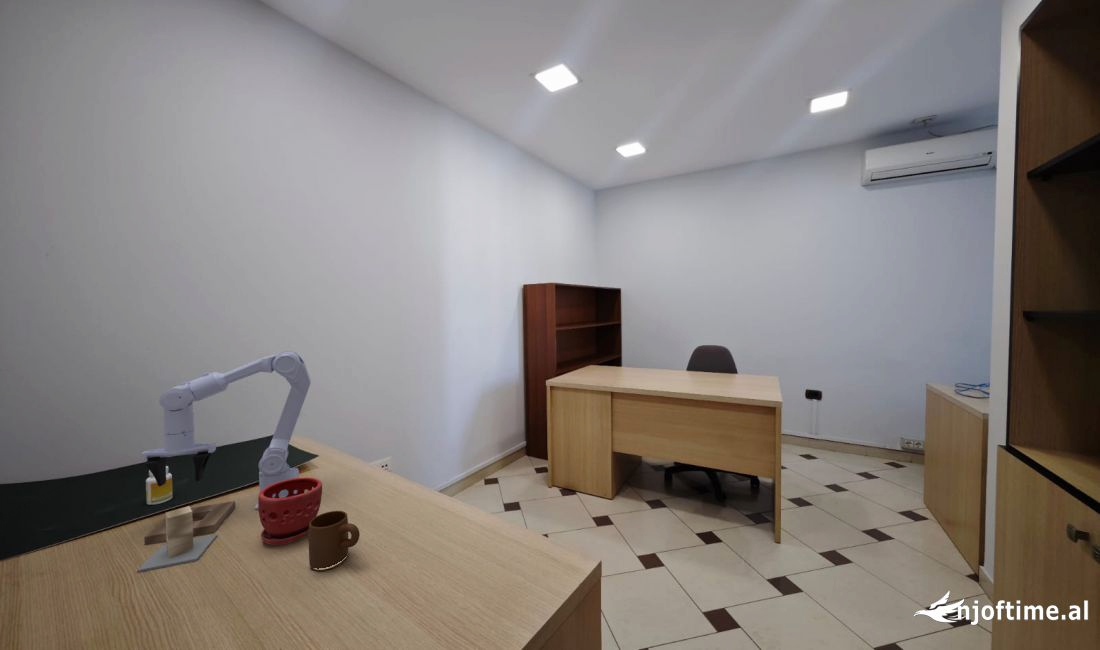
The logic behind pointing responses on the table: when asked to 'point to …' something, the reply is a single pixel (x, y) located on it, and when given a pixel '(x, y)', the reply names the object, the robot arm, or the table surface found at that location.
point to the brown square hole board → (208, 521)
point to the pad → (162, 559)
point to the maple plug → (179, 531)
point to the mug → (330, 538)
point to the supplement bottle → (158, 489)
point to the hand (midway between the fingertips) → (180, 482)
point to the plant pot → (288, 509)
